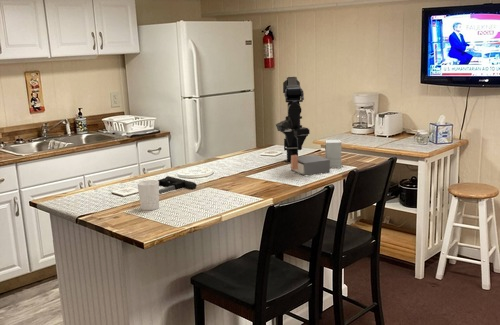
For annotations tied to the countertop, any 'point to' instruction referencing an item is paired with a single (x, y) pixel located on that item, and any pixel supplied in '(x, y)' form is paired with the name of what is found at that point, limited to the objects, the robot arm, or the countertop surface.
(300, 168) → the tray
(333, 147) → the supplement box
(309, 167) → the mailer sleeve
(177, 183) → the black handgun
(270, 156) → the countertop surface
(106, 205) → the countertop surface
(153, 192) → the white cup
